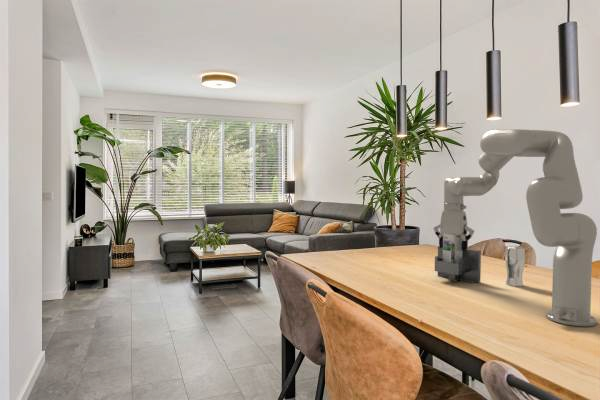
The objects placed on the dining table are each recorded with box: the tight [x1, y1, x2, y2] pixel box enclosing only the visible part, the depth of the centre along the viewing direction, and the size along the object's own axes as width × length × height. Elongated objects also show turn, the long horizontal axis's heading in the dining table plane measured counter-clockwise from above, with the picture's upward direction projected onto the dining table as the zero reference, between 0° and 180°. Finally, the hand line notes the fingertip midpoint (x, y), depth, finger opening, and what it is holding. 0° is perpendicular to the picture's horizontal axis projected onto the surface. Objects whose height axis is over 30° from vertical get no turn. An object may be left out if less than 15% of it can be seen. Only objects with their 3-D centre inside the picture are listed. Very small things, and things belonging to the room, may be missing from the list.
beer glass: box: [504, 245, 526, 288], centre depth 165 cm, size 7×7×15 cm
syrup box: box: [443, 234, 463, 263], centre depth 171 cm, size 6×6×14 cm
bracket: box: [434, 245, 482, 284], centre depth 172 cm, size 11×18×13 cm, turn 42°
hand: (452, 249), depth 171 cm, fingers open, 9 cm apart
